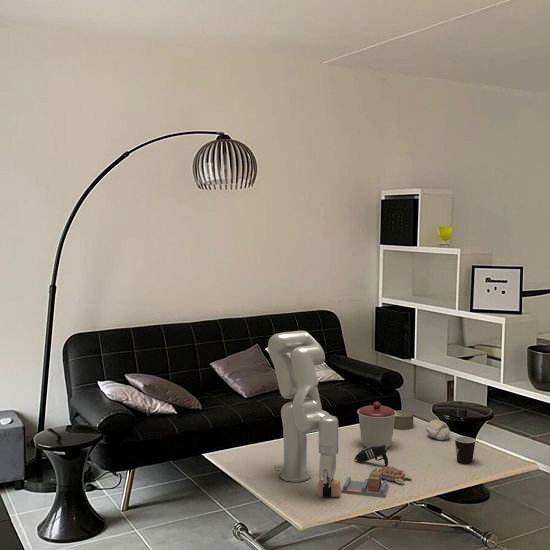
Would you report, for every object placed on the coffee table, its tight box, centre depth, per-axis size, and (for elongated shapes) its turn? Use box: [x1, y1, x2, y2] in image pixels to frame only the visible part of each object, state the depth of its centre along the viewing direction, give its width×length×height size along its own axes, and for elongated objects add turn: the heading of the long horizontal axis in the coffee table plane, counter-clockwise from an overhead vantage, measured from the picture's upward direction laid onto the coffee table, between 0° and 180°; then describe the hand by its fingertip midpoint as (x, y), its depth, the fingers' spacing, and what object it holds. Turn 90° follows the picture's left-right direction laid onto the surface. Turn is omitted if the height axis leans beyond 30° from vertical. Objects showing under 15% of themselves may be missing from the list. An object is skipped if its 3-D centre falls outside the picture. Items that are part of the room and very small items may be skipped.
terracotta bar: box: [317, 479, 342, 497], centre depth 275 cm, size 8×4×5 cm, turn 74°
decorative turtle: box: [372, 465, 413, 485], centre depth 292 cm, size 18×17×5 cm
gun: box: [353, 445, 389, 467], centre depth 308 cm, size 3×16×10 cm, turn 60°
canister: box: [356, 401, 397, 449], centre depth 331 cm, size 18×18×21 cm
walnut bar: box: [367, 470, 382, 492], centre depth 279 cm, size 8×4×5 cm, turn 164°
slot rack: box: [341, 476, 390, 498], centre depth 280 cm, size 17×11×3 cm, turn 74°
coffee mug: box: [454, 436, 476, 466], centre depth 311 cm, size 12×9×10 cm
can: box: [393, 409, 415, 431], centre depth 362 cm, size 12×12×7 cm
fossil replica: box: [425, 419, 451, 441], centre depth 343 cm, size 12×8×10 cm
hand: (328, 494), depth 275 cm, fingers closed on terracotta bar, 3 cm apart
